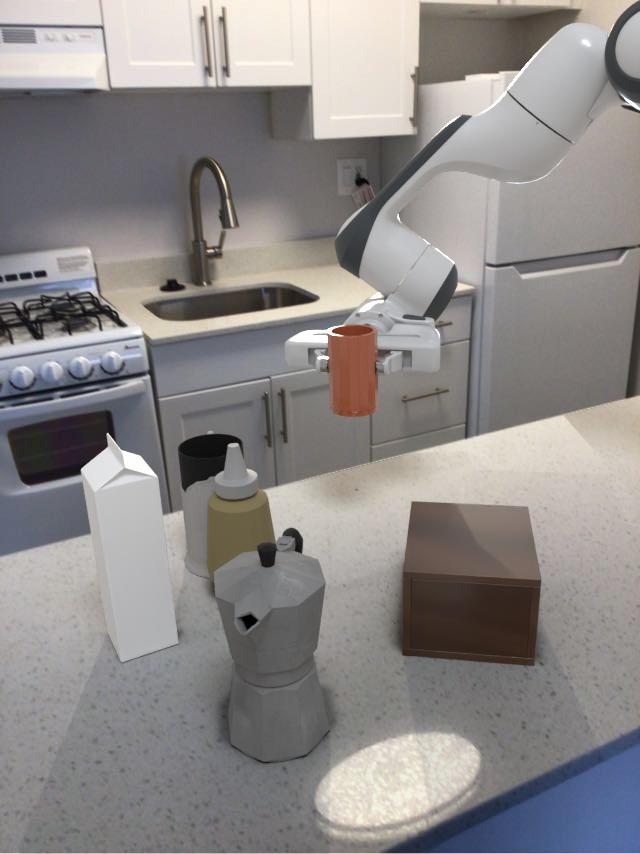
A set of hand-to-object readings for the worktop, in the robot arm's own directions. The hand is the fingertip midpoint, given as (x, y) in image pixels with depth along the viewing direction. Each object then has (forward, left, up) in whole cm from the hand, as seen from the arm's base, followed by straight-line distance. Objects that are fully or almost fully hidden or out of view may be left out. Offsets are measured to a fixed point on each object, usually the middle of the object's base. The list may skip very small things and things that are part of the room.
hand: (351, 368), depth 92 cm
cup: (0, -1, -6) cm, 6 cm away
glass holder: (+17, +5, -22) cm, 28 cm away
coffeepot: (+8, +34, -22) cm, 42 cm away
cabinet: (-11, +21, -22) cm, 32 cm away
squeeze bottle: (+13, +15, -22) cm, 29 cm away
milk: (+23, +23, -22) cm, 39 cm away
